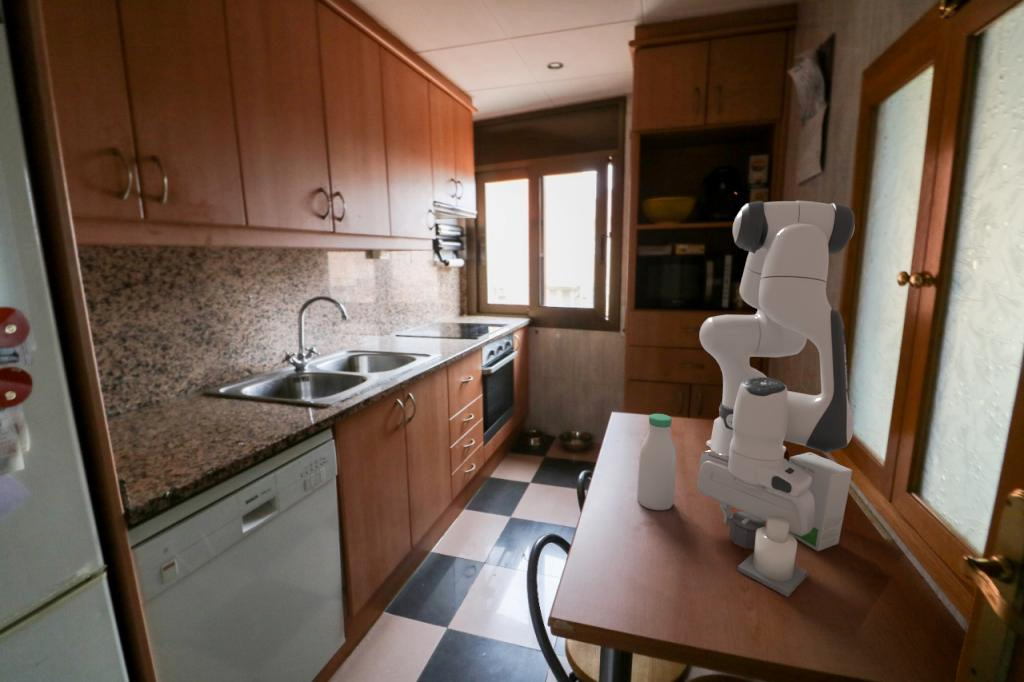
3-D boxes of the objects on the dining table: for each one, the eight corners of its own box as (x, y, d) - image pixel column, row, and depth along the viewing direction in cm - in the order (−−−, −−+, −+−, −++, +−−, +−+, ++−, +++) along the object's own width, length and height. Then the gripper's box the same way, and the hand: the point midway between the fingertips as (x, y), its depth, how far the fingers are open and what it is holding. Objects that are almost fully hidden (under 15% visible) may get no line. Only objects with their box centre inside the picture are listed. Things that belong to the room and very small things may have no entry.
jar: (758, 552, 83) (763, 503, 81) (806, 575, 76) (814, 523, 75) (737, 570, 78) (742, 518, 76) (788, 597, 72) (795, 541, 70)
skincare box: (777, 528, 90) (786, 455, 87) (799, 521, 93) (808, 450, 90) (819, 553, 82) (830, 474, 80) (842, 544, 85) (853, 468, 82)
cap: (738, 528, 90) (740, 506, 89) (767, 541, 86) (770, 519, 85) (725, 538, 87) (727, 516, 86) (754, 553, 82) (757, 529, 82)
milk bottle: (675, 513, 95) (682, 424, 92) (638, 509, 97) (643, 421, 93) (670, 495, 103) (676, 412, 99) (635, 491, 104) (640, 409, 100)
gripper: (693, 451, 89) (688, 514, 92) (809, 492, 74) (799, 567, 76) (709, 443, 93) (704, 504, 96) (823, 480, 78) (813, 552, 80)
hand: (747, 532), depth 86 cm, fingers closed on cap, 5 cm apart
